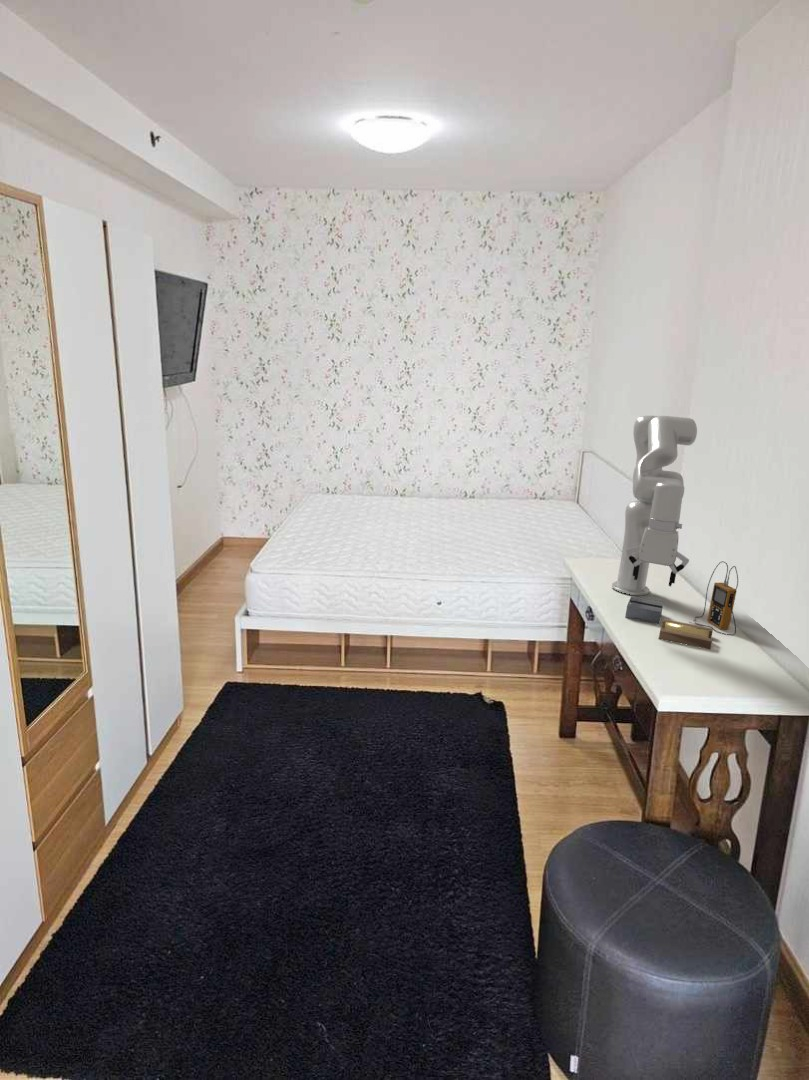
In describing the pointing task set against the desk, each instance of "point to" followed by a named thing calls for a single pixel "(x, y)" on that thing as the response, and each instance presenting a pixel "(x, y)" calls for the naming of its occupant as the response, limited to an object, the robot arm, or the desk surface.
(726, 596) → the multimeter
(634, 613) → the v block
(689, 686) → the desk surface
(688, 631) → the axle
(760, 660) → the desk surface
